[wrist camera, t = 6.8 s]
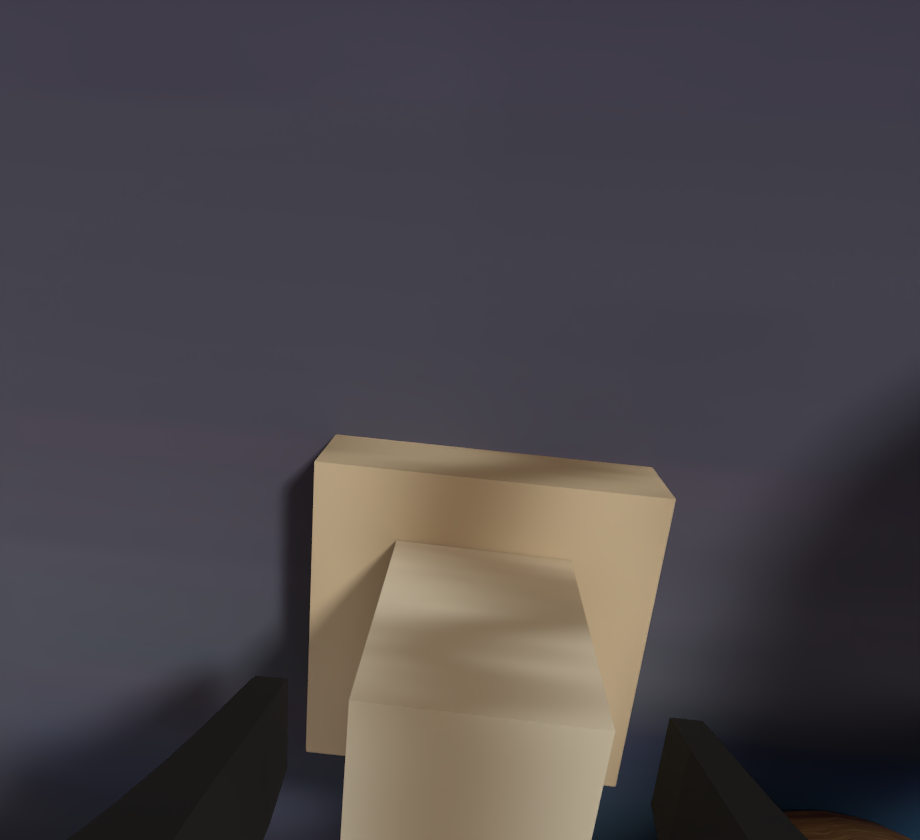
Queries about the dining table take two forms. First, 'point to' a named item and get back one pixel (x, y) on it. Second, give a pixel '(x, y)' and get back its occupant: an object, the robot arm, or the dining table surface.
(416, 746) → the maple block
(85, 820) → the dining table surface
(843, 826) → the pastry
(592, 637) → the oak slab
